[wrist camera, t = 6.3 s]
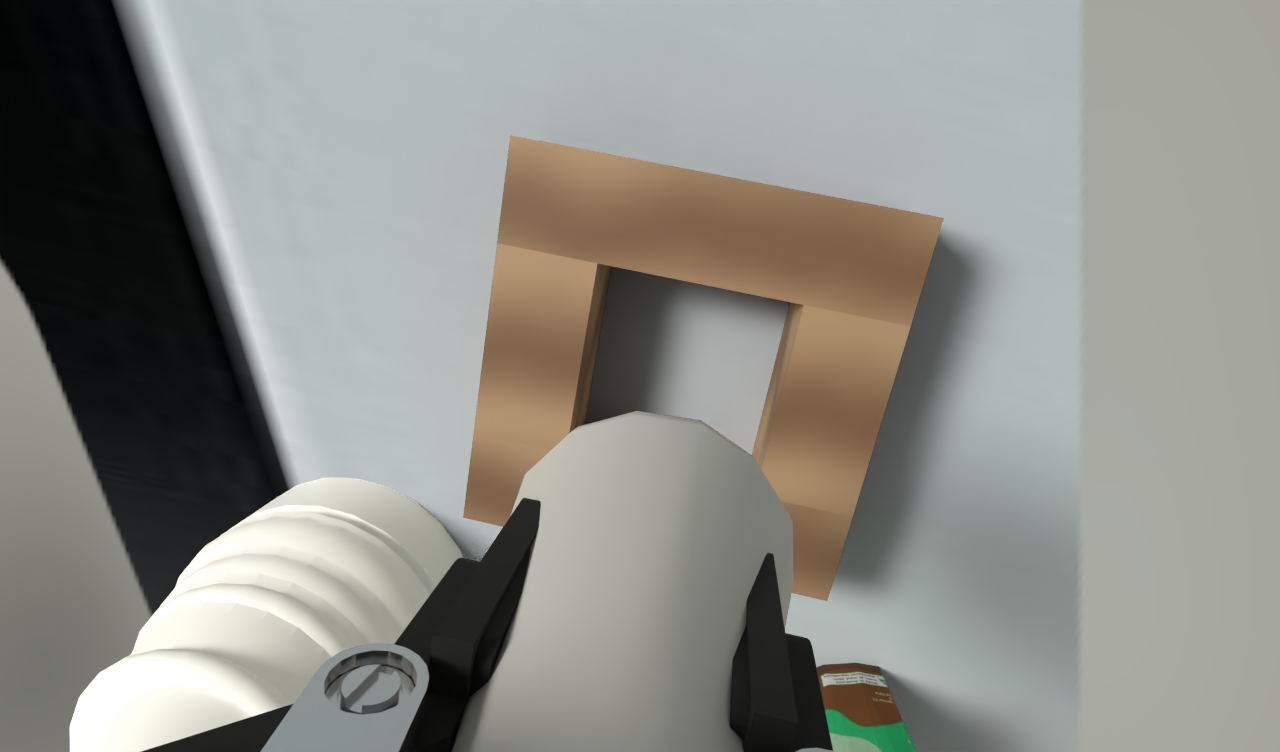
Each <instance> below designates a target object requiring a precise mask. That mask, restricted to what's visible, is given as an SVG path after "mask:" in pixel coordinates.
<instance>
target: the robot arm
mask: <svg viewBox="0 0 1280 752" xmlns="http://www.w3.org/2000/svg"><path fill="white" fill-rule="evenodd" d="M540 509H541V502H540V501H537V500H533V499H528V498H523V499H522V500H521V501H520V503H519V504H518V506H517V507H516V509H515V510H514V512H513V513H512V515H511V516H510V518H509V519H508V521H507V522H506V524H505V525H504V527H503V528H502V530H501V531H500V533H499V534H498V536H497V537H496V539H495V541H494V542H493V544H492V545H491V547H490V548H489V550H488V551H487V553H486V554H485V556H484V557H483V559H482V560H481V562H477V561H473V560H469V559H464V558H458V559H457V560H456V561H455V562H454V563H453V564H452V566H451V567H450V569H449V570H448V571H447V573H446V574H445V575H444V577H443V578H442V579H441V581H440V582H439V584H438V585H437V586H436V588H435V589H434V590H433V592H432V593H431V594H430V596H429V597H428V599H427V600H426V601H425V603H424V604H423V605H422V607H421V608H420V609H419V611H418V612H417V614H416V615H415V616H414V618H413V619H412V620H411V622H410V623H409V624H408V626H407V627H406V629H405V630H404V631H403V633H402V634H401V635H400V637H399V638H398V639H397V641H396V642H395V644H388V643H371V644H364V645H358V646H355V647H352V648H349V649H346V650H343V651H341V652H339V653H338V654H336V655H334V656H333V657H331V658H330V659H328V660H327V661H326V662H325V663H324V664H323V665H322V666H321V667H320V668H319V669H318V670H317V671H316V673H315V674H314V675H313V677H312V678H311V680H310V681H309V683H308V684H307V686H306V687H305V688H304V690H303V691H302V693H301V694H300V696H299V697H298V698H297V700H296V701H295V703H294V704H291V705H287V706H284V707H281V708H278V709H275V710H272V711H268V712H265V713H262V714H259V715H256V716H253V717H249V718H246V719H243V720H240V721H237V722H234V723H230V724H227V725H224V726H221V727H218V728H214V729H211V730H208V731H205V732H202V733H199V734H195V735H192V736H189V737H186V738H183V739H180V740H176V741H173V742H170V743H167V744H164V745H161V746H157V747H154V748H151V749H148V750H145V751H142V752H451V750H452V747H453V744H454V741H455V737H456V734H457V731H458V728H459V724H460V721H461V718H462V715H463V712H464V709H465V707H466V704H467V702H468V699H469V697H470V696H472V695H473V694H474V693H475V692H477V691H478V690H479V689H480V688H481V687H483V686H484V685H485V684H486V683H488V681H489V678H490V676H491V673H492V671H493V668H494V666H495V663H496V660H497V658H498V655H499V652H500V650H501V647H502V644H503V642H504V639H505V636H506V634H507V631H508V629H509V626H510V623H511V621H512V618H513V615H514V613H515V610H516V607H517V605H518V602H519V599H520V597H521V594H522V591H523V586H524V582H525V577H526V572H527V568H528V563H529V558H530V549H531V544H532V543H533V540H534V538H535V535H536V533H537V530H538V528H539V520H540ZM746 623H747V625H746V627H745V630H744V632H743V635H742V637H741V640H740V642H739V645H738V647H737V650H736V652H735V655H734V657H733V665H732V685H731V705H730V727H731V729H732V730H733V731H734V732H735V733H736V734H737V735H738V736H739V737H740V738H741V739H742V740H743V741H744V743H743V751H744V752H834V751H833V747H832V743H831V738H830V733H829V728H828V723H827V718H826V713H825V708H824V703H823V698H822V693H821V689H820V684H819V679H818V674H817V669H816V664H815V659H814V654H813V649H812V645H811V642H810V640H809V639H807V638H803V637H799V636H795V635H791V634H786V633H785V628H784V622H783V615H782V608H781V601H780V595H779V588H778V581H777V574H776V568H775V561H774V555H773V554H772V553H767V554H766V556H765V558H764V560H763V563H762V565H761V568H760V570H759V572H758V575H757V577H756V579H755V582H754V584H753V586H752V589H751V591H750V593H749V596H748V598H747V614H746Z"/></svg>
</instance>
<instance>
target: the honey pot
mask: <svg viewBox="0 0 1280 752" xmlns="http://www.w3.org/2000/svg"><path fill="white" fill-rule="evenodd" d="M458 558H463V556H462V553H461V551H460V549H459V548H458V546H457V545H456V543H455V542H454V541H453V539H452V538H451V537H450V535H449V534H448V532H447V531H446V530H445V528H444V527H443V525H442V524H441V523H440V522H439V521H438V520H436V519H435V518H434V517H433V516H432V515H431V514H430V513H428V512H427V511H426V510H425V509H424V508H423V507H421V506H420V505H419V504H418V503H417V502H415V501H413V500H412V499H410V498H408V497H406V496H404V495H402V494H400V493H399V492H397V491H395V490H393V489H391V488H389V487H387V486H384V485H380V484H376V483H373V482H369V481H365V480H361V479H358V478H322V479H318V480H314V481H310V482H307V483H303V484H299V485H296V486H295V487H293V488H292V489H290V490H288V491H287V492H285V493H284V494H282V495H280V496H279V497H277V498H276V499H274V500H272V501H271V502H269V503H268V504H266V505H265V506H263V507H262V508H261V509H259V510H258V511H256V512H255V513H253V514H252V515H250V516H249V517H247V518H246V519H244V520H243V521H241V522H240V523H238V524H237V525H235V526H234V527H232V528H231V529H230V530H228V531H227V532H225V533H224V534H222V535H221V536H220V537H218V538H217V539H215V540H214V541H212V542H210V543H209V544H207V545H206V546H205V547H204V548H203V549H202V550H201V551H200V552H199V553H198V554H197V555H196V557H195V558H194V559H193V560H192V562H191V563H190V564H189V565H188V566H187V568H186V569H185V570H184V571H183V573H182V574H181V575H180V576H179V578H178V581H177V584H176V587H175V588H174V590H173V591H172V592H171V593H170V595H169V596H168V597H167V598H166V600H165V601H164V602H163V603H162V604H161V606H160V607H159V609H158V610H157V611H156V612H155V613H154V614H153V616H152V617H151V618H150V619H149V621H148V622H147V623H146V624H145V625H144V627H143V628H142V629H141V631H140V632H139V635H138V638H137V641H136V644H135V647H134V649H133V652H132V653H131V655H130V656H127V657H125V658H124V659H122V660H120V661H118V662H117V663H115V664H113V665H112V666H110V667H108V668H107V669H105V670H103V671H101V672H100V673H99V674H98V675H97V676H96V677H95V678H94V680H93V681H92V682H91V683H90V685H89V686H88V687H87V688H86V689H85V691H84V692H83V693H82V694H81V696H80V697H79V699H78V703H77V705H76V709H75V712H74V715H73V718H72V721H71V724H70V752H142V751H145V750H148V749H151V748H154V747H157V746H161V745H164V744H167V743H170V742H173V741H176V740H180V739H183V738H186V737H189V736H192V735H195V734H199V733H202V732H205V731H208V730H211V729H214V728H218V727H221V726H224V725H227V724H230V723H234V722H237V721H240V720H243V719H246V718H249V717H253V716H256V715H259V714H262V713H265V712H268V711H272V710H275V709H278V708H281V707H284V706H287V705H291V704H294V703H295V701H296V700H297V698H298V697H299V696H300V694H301V693H302V691H303V690H304V688H305V687H306V686H307V684H308V683H309V681H310V680H311V678H312V677H313V675H314V674H315V673H316V671H317V670H318V669H319V668H320V667H321V666H322V665H323V664H324V663H325V662H326V661H327V660H328V659H330V658H331V657H333V656H334V655H336V654H338V653H339V652H341V651H343V650H346V649H349V648H352V647H355V646H358V645H364V644H371V643H388V644H395V642H396V641H397V639H398V638H399V637H400V635H401V634H402V633H403V631H404V630H405V629H406V627H407V626H408V624H409V623H410V622H411V620H412V619H413V618H414V616H415V615H416V614H417V612H418V611H419V609H420V608H421V607H422V605H423V604H424V603H425V601H426V600H427V599H428V597H429V596H430V594H431V593H432V592H433V590H434V589H435V588H436V586H437V585H438V584H439V582H440V581H441V579H442V578H443V577H444V575H445V574H446V573H447V571H448V570H449V569H450V567H451V566H452V564H453V563H454V562H455V561H456V560H457V559H458Z"/></svg>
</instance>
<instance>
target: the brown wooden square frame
mask: <svg viewBox="0 0 1280 752" xmlns="http://www.w3.org/2000/svg"><path fill="white" fill-rule="evenodd" d="M943 219H944V218H940V217H935V216H930V215H925V214H919V213H914V212H909V211H904V210H898V209H893V208H888V207H883V206H877V205H872V204H867V203H862V202H856V201H851V200H846V199H841V198H835V197H830V196H825V195H820V194H814V193H809V192H804V191H799V190H793V189H788V188H783V187H778V186H772V185H767V184H762V183H757V182H751V181H746V180H741V179H736V178H731V177H725V176H720V175H715V174H710V173H704V172H699V171H694V170H689V169H683V168H678V167H673V166H668V165H662V164H657V163H652V162H647V161H641V160H636V159H631V158H626V157H620V156H615V155H610V154H605V153H599V152H594V151H589V150H584V149H578V148H573V147H568V146H563V145H557V144H552V143H547V142H542V141H536V140H531V139H526V138H521V137H515V136H510V143H509V151H508V159H507V168H506V176H505V184H504V192H503V200H502V208H501V216H500V224H499V232H498V240H497V249H496V257H495V265H494V273H493V281H492V289H491V297H490V305H489V313H488V321H487V330H486V338H485V346H484V354H483V362H482V370H481V378H480V386H479V394H478V402H477V411H476V419H475V427H474V435H473V443H472V451H471V459H470V467H469V475H468V483H467V492H466V500H465V508H464V516H463V517H464V518H468V519H472V520H477V521H481V522H485V523H490V524H494V525H498V526H503V527H504V525H505V524H506V522H507V521H508V519H509V518H510V516H511V513H512V510H513V507H514V504H515V501H516V499H517V496H518V493H519V490H520V487H521V484H522V481H523V479H524V476H525V474H526V473H527V472H528V471H529V470H530V469H531V468H532V467H533V466H535V465H536V464H537V463H538V462H539V461H540V460H541V459H542V458H543V457H544V456H545V455H547V454H548V453H549V452H550V451H551V450H552V449H553V448H554V447H555V446H556V445H557V444H559V443H560V442H561V441H562V440H563V439H564V438H565V437H566V436H567V435H568V434H569V433H571V432H572V431H573V430H574V429H576V428H577V427H579V426H583V425H586V424H589V423H585V418H586V412H587V406H588V400H589V395H590V389H591V383H592V377H593V371H594V366H595V360H596V354H597V348H598V342H599V337H600V331H601V325H602V319H603V313H604V308H605V302H606V296H607V290H608V284H609V279H610V273H611V267H612V266H613V267H618V268H623V269H628V270H633V271H638V272H643V273H648V274H652V275H657V276H662V277H667V278H672V279H677V280H682V281H687V282H692V283H697V284H702V285H707V286H712V287H717V288H722V289H727V290H732V291H737V292H742V293H747V294H752V295H757V296H762V297H767V298H772V299H777V300H781V301H786V302H790V305H789V309H788V313H787V317H786V321H785V325H784V329H783V333H782V337H781V341H780V345H779V349H778V353H777V357H776V361H775V365H774V369H773V373H772V377H771V381H770V385H769V389H768V393H767V397H766V401H765V405H764V409H763V413H762V417H761V421H760V425H759V429H758V433H757V437H756V441H755V445H754V449H753V453H752V456H753V457H754V459H755V460H756V462H757V463H758V465H759V466H760V468H761V470H762V471H763V473H764V475H765V476H766V478H767V479H768V481H769V483H770V484H771V486H772V487H773V489H774V491H775V492H776V494H777V496H778V497H779V499H780V500H781V502H782V504H783V505H784V507H785V509H786V510H787V512H788V513H789V515H790V517H791V518H792V520H793V586H792V591H791V593H795V594H799V595H804V596H808V597H812V598H817V599H821V600H825V601H827V600H828V596H829V593H830V590H831V587H832V583H833V580H834V577H835V573H836V570H837V567H838V564H839V560H840V557H841V554H842V550H843V547H844V544H845V541H846V537H847V534H848V531H849V527H850V524H851V521H852V518H853V514H854V511H855V508H856V504H857V501H858V498H859V495H860V491H861V488H862V485H863V481H864V478H865V475H866V472H867V468H868V465H869V462H870V458H871V455H872V452H873V449H874V445H875V442H876V439H877V436H878V432H879V429H880V426H881V422H882V419H883V416H884V413H885V409H886V406H887V403H888V399H889V396H890V393H891V390H892V386H893V383H894V380H895V376H896V373H897V370H898V367H899V363H900V360H901V357H902V353H903V350H904V347H905V344H906V340H907V337H908V334H909V330H910V327H911V324H912V321H913V317H914V314H915V311H916V307H917V304H918V301H919V298H920V294H921V291H922V288H923V284H924V281H925V278H926V275H927V271H928V268H929V265H930V261H931V258H932V255H933V252H934V248H935V245H936V242H937V238H938V235H939V232H940V229H941V225H942V222H943Z"/></svg>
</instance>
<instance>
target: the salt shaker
mask: <svg viewBox="0 0 1280 752" xmlns="http://www.w3.org/2000/svg"><path fill="white" fill-rule="evenodd" d="M523 498H528V499H533V500H537V501H540V502H541V509H540V520H539V528H538V530H537V533H536V535H535V538H534V540H533V543H532V544H531V549H530V558H529V563H528V568H527V572H526V577H525V582H524V586H523V591H522V594H521V597H520V599H519V602H518V605H517V607H516V610H515V613H514V615H513V618H512V621H511V623H510V626H509V629H508V631H507V634H506V636H505V639H504V642H503V644H502V647H501V650H500V652H499V655H498V658H497V660H496V663H495V666H494V668H493V671H492V673H491V676H490V678H489V681H488V683H486V684H485V685H484V686H483V687H481V688H480V689H479V690H478V691H477V692H475V693H474V694H473V695H472V696H470V697H469V699H468V702H467V704H466V707H465V709H464V712H463V715H462V718H461V721H460V724H459V728H458V731H457V734H456V737H455V741H454V744H453V747H452V750H451V752H744V751H743V743H744V741H743V740H742V739H741V738H740V737H739V736H738V735H737V734H736V733H735V732H734V731H733V730H732V729H731V727H730V705H731V685H732V665H733V657H734V655H735V652H736V650H737V647H738V645H739V642H740V640H741V637H742V635H743V632H744V630H745V627H746V625H747V623H746V614H747V598H748V596H749V593H750V591H751V589H752V586H753V584H754V582H755V579H756V577H757V575H758V572H759V570H760V568H761V565H762V563H763V560H764V558H765V556H766V554H767V553H772V554H773V555H774V561H775V568H776V574H777V581H778V588H779V595H780V601H781V608H782V615H783V622H784V628H785V625H786V619H787V614H788V608H789V603H790V597H791V591H792V586H793V520H792V518H791V517H790V515H789V513H788V512H787V510H786V509H785V507H784V505H783V504H782V502H781V500H780V499H779V497H778V496H777V494H776V492H775V491H774V489H773V487H772V486H771V484H770V483H769V481H768V479H767V478H766V476H765V475H764V473H763V471H762V470H761V468H760V466H759V465H758V463H757V462H756V460H755V459H754V457H753V456H752V455H750V454H749V453H747V452H746V451H745V450H743V449H742V448H740V447H739V446H737V445H736V444H734V443H733V442H731V441H730V440H729V439H727V438H726V437H724V436H723V435H721V434H720V433H718V432H717V431H716V430H714V429H713V428H711V427H710V426H708V425H707V424H705V423H704V422H703V421H701V420H694V419H688V418H681V417H674V416H668V415H661V414H655V413H648V412H641V411H634V412H630V413H627V414H623V415H619V416H616V417H612V418H608V419H605V420H601V421H597V422H594V423H590V424H586V425H583V426H579V427H577V428H576V429H574V430H573V431H572V432H571V433H569V434H568V435H567V436H566V437H565V438H564V439H563V440H562V441H561V442H560V443H559V444H557V445H556V446H555V447H554V448H553V449H552V450H551V451H550V452H549V453H548V454H547V455H545V456H544V457H543V458H542V459H541V460H540V461H539V462H538V463H537V464H536V465H535V466H533V467H532V468H531V469H530V470H529V471H528V472H527V473H526V474H525V476H524V479H523V481H522V484H521V487H520V490H519V493H518V496H517V499H516V501H515V504H514V507H513V510H512V513H513V512H514V510H515V509H516V507H517V506H518V504H519V503H520V501H521V500H522V499H523ZM512 513H511V515H512Z"/></svg>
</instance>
